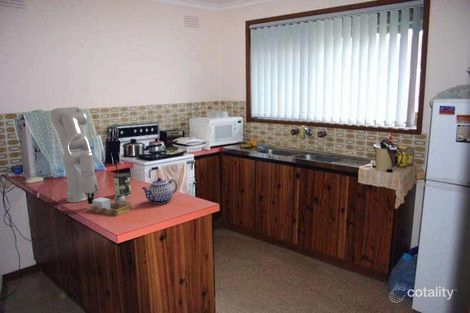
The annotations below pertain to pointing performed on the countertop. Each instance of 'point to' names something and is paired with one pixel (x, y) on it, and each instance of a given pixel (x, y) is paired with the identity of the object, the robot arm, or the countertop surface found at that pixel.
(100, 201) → the white rectangular block
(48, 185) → the countertop surface
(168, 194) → the teapot
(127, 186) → the crank
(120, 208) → the bay
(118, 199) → the winch
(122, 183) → the coffee can
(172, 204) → the countertop surface
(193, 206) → the countertop surface
